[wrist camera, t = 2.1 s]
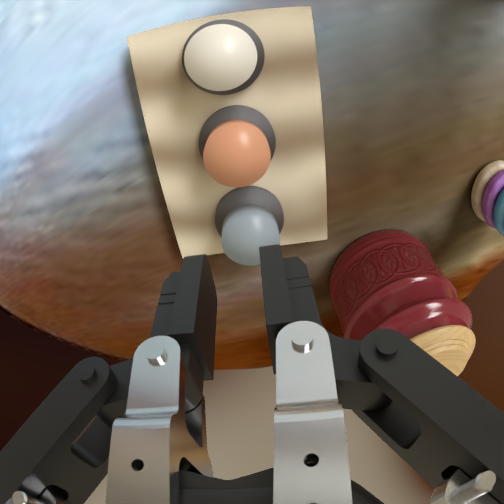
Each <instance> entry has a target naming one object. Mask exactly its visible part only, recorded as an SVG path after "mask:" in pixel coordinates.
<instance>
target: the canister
mask: <svg viewBox="0 0 504 504" xmlns="http://www.w3.org/2000/svg"><path fill="white" fill-rule="evenodd" d="M329 285H330V298H331V301H332V305H333V308H334V310H335V311H336V313H337V316H338V319H339V322H340V326H341V329H342V332H343V335H344V338H345V339H354V340H363V339H364V337H365V336H366V335H367V334H369V333H370V332H372V331H374V330H378V329H392V330H396V331H398V332H400V333H402V334H403V335H404V336H406V337H407V338H408V339H410V340H411V341H412V342H414V343H415V344H416V345H418V346H419V347H420V348H421V349H423V350H424V351H425V352H427V353H428V354H429V355H431V356H432V357H433V358H434V359H436V360H437V361H438V362H440V363H441V364H442V365H443V366H445V367H446V368H447V369H449V370H450V371H451V372H452V373H454V374H455V375H456V376H458V375H459V374H460V373H461V372H462V370H463V369H464V367H465V365H466V363H467V361H468V359H469V358H470V356H471V354H472V352H473V350H474V347H475V336H474V333H473V332H472V331H471V325H472V316H471V312H470V309H469V308H468V307H467V305H466V304H464V303H463V302H461V301H459V300H458V296H457V292H456V289H455V287H454V286H453V284H452V283H451V282H450V281H449V280H448V279H447V278H446V277H445V275H444V274H443V272H442V271H441V269H440V268H439V267H438V265H437V264H436V262H435V261H434V260H433V257H432V255H431V253H430V251H429V250H428V249H427V248H426V246H425V245H424V244H423V243H422V242H421V241H420V240H418V239H417V238H415V237H414V236H413V235H411V234H410V233H407V232H405V231H401V230H395V229H387V230H380V231H376V232H373V233H370V234H368V235H366V236H363V237H362V238H360V239H358V240H357V241H355V242H354V243H352V244H351V245H350V246H349V247H348V248H346V249H345V250H344V252H343V253H342V254H341V255H340V256H339V258H338V259H337V261H336V262H335V264H334V266H333V268H332V271H331V274H330V280H329Z"/></svg>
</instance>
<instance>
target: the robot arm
mask: <svg viewBox="0 0 504 504" xmlns="http://www.w3.org/2000/svg"><path fill="white" fill-rule="evenodd" d="M259 254H260V264H261V275H262V285H263V296H264V306H265V317H266V327H267V333H268V339H269V346H270V352H271V358H272V365H273V371H274V374H276V408H275V413H274V468H270V469H267V470H264V471H261V472H258V473H254V474H251V475H248V476H244V477H240V478H237V479H233V480H222V479H218V478H213V470H212V465H211V461H210V458H209V455H208V450H207V437H206V436H207V435H206V415H205V414H206V413H205V397H204V395H203V380H213V372H214V351H215V332H216V315H217V295H216V289H215V285H214V281H213V278H212V274H211V270H210V266H209V263H208V259H207V256H206V254H201V255H193V256H186V257H184V258H183V262H182V267H181V272H174V273H171V274H170V275H169V277H168V278H167V279H166V280H165V282H164V283H163V287H162V290H161V296H160V298H159V302H158V304H159V306H157V310H156V315H155V319H154V323H153V327H152V331H151V336H150V338H149V339H147V340H146V341H144V342H143V343H142V344H140V346H139V347H138V348H137V349H136V351H135V354H134V358H132V359H130V360H127V361H124V362H121V363H117V364H114V365H111V366H109V365H108V364H107V363H106V361H105V360H103V359H102V358H99V357H89V358H86V359H83V360H82V361H80V362H79V363H78V364H76V366H75V367H74V368H73V369H72V370H71V371H70V372H69V373H68V374H67V375H66V376H65V377H64V379H63V380H62V381H61V382H60V383H59V384H58V385H57V386H56V388H55V389H54V390H53V391H52V392H51V393H50V394H49V395H48V397H47V398H46V399H45V400H44V401H43V402H42V404H40V406H39V407H38V408H37V409H36V410H35V411H34V413H33V414H32V415H31V416H30V417H29V418H28V420H27V421H26V422H25V423H24V424H23V425H22V427H21V428H20V429H19V430H18V431H17V433H16V434H15V435H14V436H13V437H12V438H11V440H10V441H9V442H8V443H7V445H6V446H5V447H4V448H3V449H2V451H1V452H0V504H84V503H85V501H86V500H87V499H88V497H89V496H90V495H91V494H92V492H93V491H94V490H95V488H96V487H97V486H98V485H99V484H100V482H101V481H102V480H103V479H104V477H105V476H106V475H107V489H106V504H384V503H383V502H381V501H380V500H379V499H377V498H376V497H375V496H374V495H372V494H371V493H370V492H368V491H367V490H366V489H365V488H363V487H362V486H361V485H359V484H357V483H356V482H354V481H352V480H351V479H350V470H349V458H348V449H347V440H346V431H345V423H344V415H343V409H342V408H344V409H352V410H353V412H354V413H355V414H356V415H357V416H358V417H359V418H360V419H361V420H362V421H364V423H366V424H367V425H368V426H369V427H370V428H371V429H372V430H373V431H374V432H375V433H376V434H377V435H378V436H379V437H380V438H381V439H382V440H383V441H384V442H385V443H387V445H389V446H390V447H391V448H392V449H393V450H394V451H395V452H396V453H397V454H398V455H399V456H400V457H401V458H403V460H405V461H406V462H407V463H408V464H409V465H410V466H411V467H412V468H413V469H414V470H415V471H417V472H418V473H419V474H420V475H421V476H422V477H423V478H424V479H425V480H426V481H427V482H429V483H430V484H431V485H432V486H433V487H434V488H435V490H434V492H433V494H432V497H431V503H430V504H504V413H503V412H502V411H500V410H499V409H498V408H496V407H495V406H494V405H493V404H492V403H490V402H489V401H488V400H487V399H485V398H484V397H483V396H482V395H480V394H479V393H478V392H477V391H475V390H474V389H473V388H471V387H470V386H469V385H468V384H466V383H465V382H464V381H463V380H461V379H460V378H459V377H458V376H456V375H455V374H454V373H452V372H451V371H450V370H449V369H447V368H446V367H445V366H443V365H442V364H441V363H440V362H438V361H437V360H436V359H434V358H433V357H432V356H431V355H429V354H428V353H427V352H425V351H424V350H423V349H421V348H420V347H419V346H418V345H416V344H415V343H414V342H412V341H411V340H410V339H408V338H407V337H406V336H404V335H403V334H402V333H400V332H398V331H396V330H392V329H378V330H374V331H372V332H370V333H369V334H367V335H366V336H365V337H364V339H363V340H354V339H345V338H341V337H337V336H335V335H333V334H331V333H330V332H329V331H327V330H326V329H325V327H324V326H323V325H322V322H321V320H320V316H319V312H318V308H317V304H316V300H315V297H314V293H313V289H312V286H311V282H310V278H309V274H308V271H307V267H306V265H305V264H304V263H303V262H302V261H301V260H300V259H299V258H298V257H291V258H283V257H282V252H281V247H280V244H276V245H269V246H261V247H259ZM95 414H96V415H97V418H96V419H95V420H94V421H93V423H92V424H91V425H90V426H89V427H88V428H87V430H86V431H85V432H84V433H83V434H82V436H81V437H80V438H79V439H78V441H77V442H75V443H74V444H72V443H73V441H74V440H75V439H76V437H77V436H78V435H79V434H80V433H81V431H82V430H83V429H84V428H85V427H86V425H87V424H88V423H89V422H90V420H91V419H92V418H93V417H94V416H95ZM107 473H108V474H107Z"/></svg>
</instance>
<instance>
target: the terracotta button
mask: <svg viewBox="0 0 504 504" xmlns="http://www.w3.org/2000/svg"><path fill="white" fill-rule="evenodd" d="M270 159H271V153H270V148H269V145H268V141H267V138H266V136H265V134H264V132H263V131H262V130H261V129H260V128H259V127H258V126H257V125H256V124H254V123H252V122H250V121H247V120H244V119H231V120H227V121H224V122H222V123H220V124H219V125H217V126H216V127H215V128H214V129H213V130H212V131H211V133H210V134H209V137H208V139H207V142H206V145H205V148H204V152H203V161H204V165H205V168H206V170H207V172H208V173H209V175H210V176H211V177H212V178H213V179H214V180H215V181H217V182H218V183H220V184H222V185H225V186H228V187H235V188H239V187H245V186H249V185H251V184H253V183H255V182H257V181H258V180H259V179H261V178H262V176H263V175H264V174H265V173H266V171H267V169H268V167H269V164H270Z"/></svg>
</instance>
